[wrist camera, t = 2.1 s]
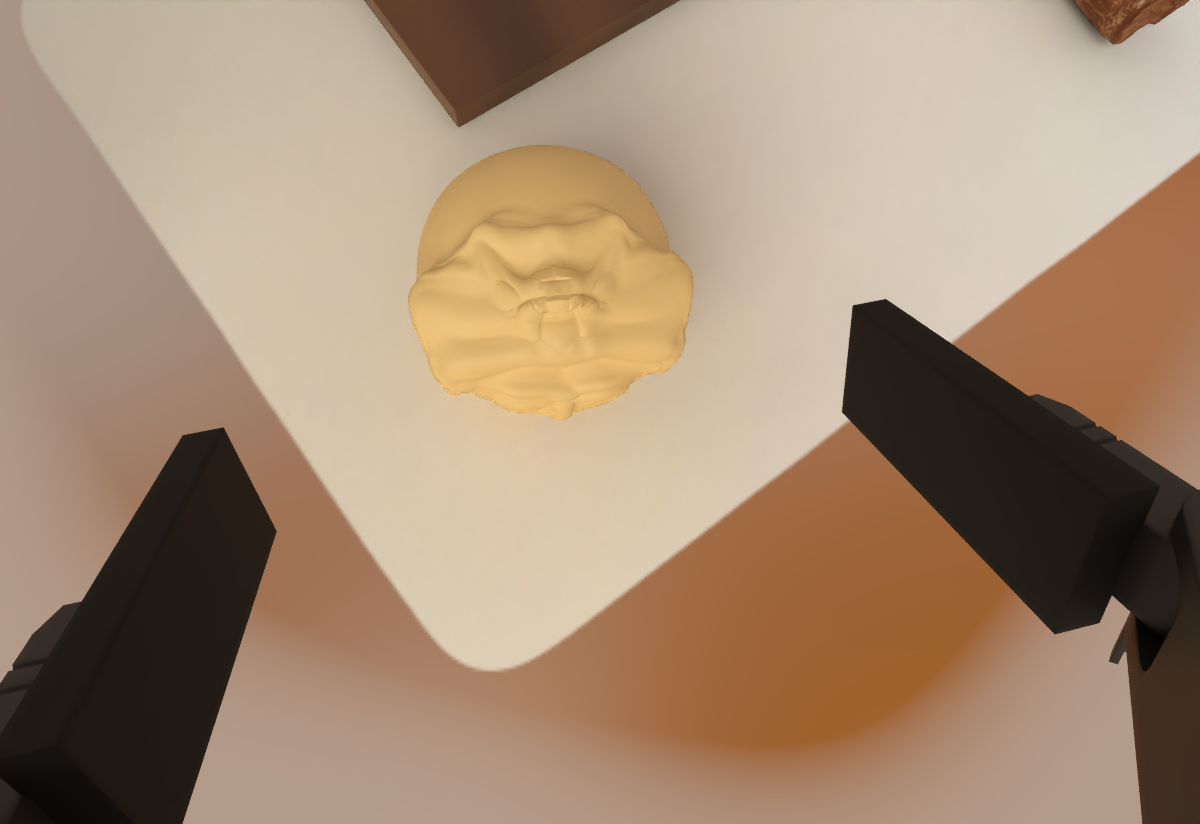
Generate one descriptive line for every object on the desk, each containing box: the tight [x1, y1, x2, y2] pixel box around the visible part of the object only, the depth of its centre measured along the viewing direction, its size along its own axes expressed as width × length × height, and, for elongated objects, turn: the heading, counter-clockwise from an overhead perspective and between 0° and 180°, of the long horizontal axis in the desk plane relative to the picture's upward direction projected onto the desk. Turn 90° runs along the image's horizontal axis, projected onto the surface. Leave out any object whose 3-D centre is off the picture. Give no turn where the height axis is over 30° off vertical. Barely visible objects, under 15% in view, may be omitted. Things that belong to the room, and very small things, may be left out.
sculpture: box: [408, 145, 693, 420], centre depth 29 cm, size 12×12×11 cm
